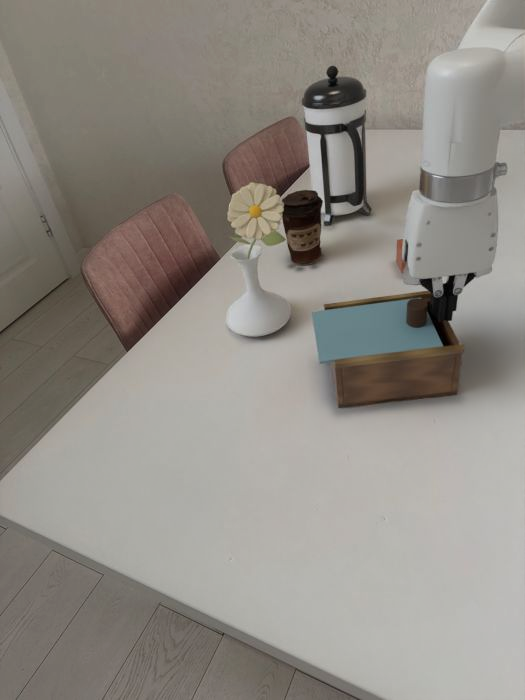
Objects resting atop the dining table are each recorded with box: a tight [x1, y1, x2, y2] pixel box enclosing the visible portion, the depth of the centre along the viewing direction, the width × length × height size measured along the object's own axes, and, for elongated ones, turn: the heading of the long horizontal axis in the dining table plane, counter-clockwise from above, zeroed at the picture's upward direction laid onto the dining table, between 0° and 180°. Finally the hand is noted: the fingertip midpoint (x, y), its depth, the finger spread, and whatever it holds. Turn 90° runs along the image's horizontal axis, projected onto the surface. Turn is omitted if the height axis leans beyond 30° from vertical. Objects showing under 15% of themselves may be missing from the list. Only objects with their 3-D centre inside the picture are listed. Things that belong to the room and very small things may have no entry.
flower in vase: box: [225, 181, 292, 338], centre depth 78 cm, size 13×11×25 cm
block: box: [395, 238, 406, 274], centre depth 92 cm, size 4×4×4 cm
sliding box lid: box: [311, 298, 443, 365], centre depth 66 cm, size 16×11×4 cm
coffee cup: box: [281, 189, 323, 266], centre depth 97 cm, size 9×8×13 cm
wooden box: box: [323, 290, 466, 409], centre depth 70 cm, size 16×13×9 cm
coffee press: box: [301, 65, 373, 226], centre depth 104 cm, size 17×16×30 cm
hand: (442, 315), depth 66 cm, fingers closed
